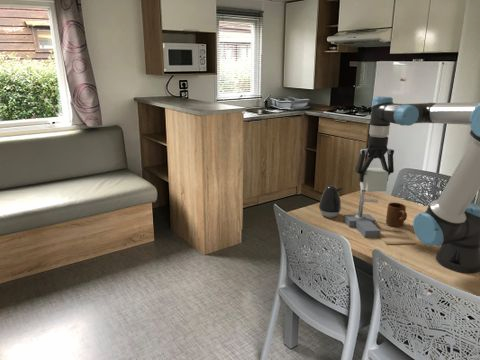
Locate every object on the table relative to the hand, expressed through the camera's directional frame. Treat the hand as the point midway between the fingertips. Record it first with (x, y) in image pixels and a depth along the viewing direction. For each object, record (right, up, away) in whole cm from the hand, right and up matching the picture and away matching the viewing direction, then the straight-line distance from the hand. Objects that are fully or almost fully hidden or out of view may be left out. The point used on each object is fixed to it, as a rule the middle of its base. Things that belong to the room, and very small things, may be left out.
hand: (372, 189), depth 161 cm
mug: (+15, -17, +12) cm, 26 cm away
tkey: (+2, -13, +13) cm, 19 cm away
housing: (-1, -18, +10) cm, 20 cm away
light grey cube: (0, 0, 0) cm, 0 cm away
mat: (+9, -21, 0) cm, 23 cm away
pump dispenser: (-13, -14, +24) cm, 30 cm away
